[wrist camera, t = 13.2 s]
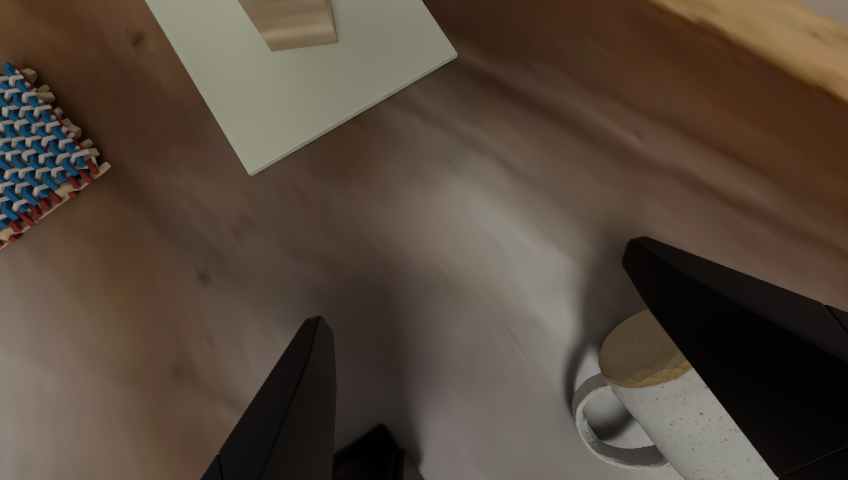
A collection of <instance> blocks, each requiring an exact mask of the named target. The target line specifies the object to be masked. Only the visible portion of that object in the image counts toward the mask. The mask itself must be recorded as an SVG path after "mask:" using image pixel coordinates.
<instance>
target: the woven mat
mask: <svg viewBox="0 0 848 480" xmlns="http://www.w3.org/2000/svg"><path fill="white" fill-rule="evenodd" d="M3 66H4V67H5V72H4V74H6V75H7V76H3V75H2V74H1V73H0V249H2V248H3V247H5V246H6V245H7V244H9V243H10V242H15V241H16V240H18V238H19V236H20V233H22V232H25V231H26V230H27V229H28V228H30V227H31V226H34V225H36V222H38V221H39V220H41V219H42V218H43V217H45V216H46V215H47V214H49V213H50V212H51V211H53V210H54V209H55V208H57V207H58V206H59V205H61V204H62V203H63V202H65V201H66V200H68V199H69V198H70V197H72V198H74V197H75V196H77V194H78V192H77V190H81V189H83V188H84V187H85V186H86V185H88V184H89V183H91V182H92V181H94V180H95V179H96V178H97V177H99V176H100V175H102V174H103V173H104V172H106V171H107V170H108V169H109V168H110V167H111V165H110V164H109V163H108V162H105V163H103V164H102V165H100V166H99V167H98V165H97V162H96V159H95V157H98V156H99V155H100V154H99V153H98V151H97V150H96V148H92V149H88V148H89V147H90V146H91V145H93V142H92V141H91V140H90V139H87V140H85V141H84V142H82V143H80V144H79V143H78V142H77V139H78V138H80V136H81V128H79V127H76V126H74V125H73V124H72V123H71V121H70V120H69V119H68V118H67V119H64V120H61V114H63V111H62V110H61V109H60V108H59V107H57V108H56V109H54V110H53V109H52V107H53V105H52V102H54V101H55V97H54V95H53V94H52V92H47V91H48V90H49V89H50V88H49V87H48V86H47V85H43V86H42V87H40V88H38V89H36V88H35V87H34V85H33V83H34V82H35V80H36V78H37V76H38V75H37V73H36V72H35V71H33V70H31V69H29V68H28V69H24V70H20V69H19V68H18V67H16V66H14V65H12V64H10V63H7V62H6V63H4V64H3ZM41 114H42V115H41ZM87 168H89V169H90V171H91V172H90V173H87V172H86V171H85V169H87ZM78 174H79V175H80V176H81V177H82V178H80V179H76V177H75V176H76V175H78ZM48 195H49V197H50V198H51V199H52V200H50V201H48V200H47V198H46V197H47V196H48ZM26 211H30V212H32V214H31V215H30V216H29V215H28V213H27V212H26ZM20 217H21V218H22V219H23V221H21V222H18V220H17V219H18V218H20Z"/></svg>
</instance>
